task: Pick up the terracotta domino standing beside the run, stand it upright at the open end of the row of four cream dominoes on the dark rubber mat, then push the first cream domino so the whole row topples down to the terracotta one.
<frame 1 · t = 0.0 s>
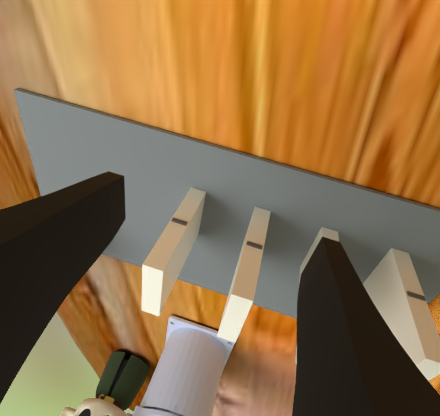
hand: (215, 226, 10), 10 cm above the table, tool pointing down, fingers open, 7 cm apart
character mug: (132, 358, 44), on the table
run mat: (222, 231, 24), on the table
tile 2: (317, 250, 22), resting on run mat
tile 3: (255, 230, 23), resting on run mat
tile 4: (194, 212, 23), resting on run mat
tile 1: (383, 270, 22), resting on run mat
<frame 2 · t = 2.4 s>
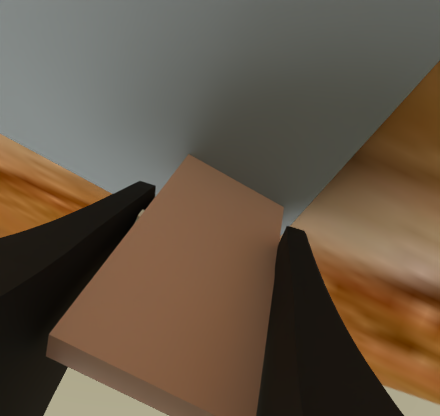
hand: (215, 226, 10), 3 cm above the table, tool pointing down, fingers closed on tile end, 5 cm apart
tile end: (230, 191, 12), resting on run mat, touching gripper
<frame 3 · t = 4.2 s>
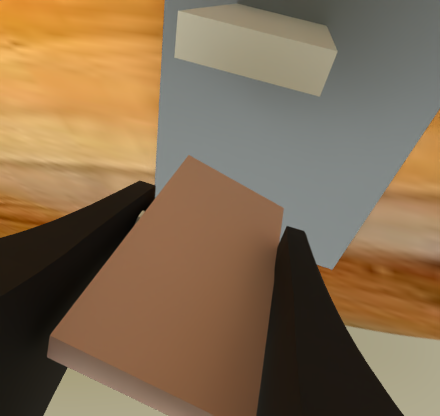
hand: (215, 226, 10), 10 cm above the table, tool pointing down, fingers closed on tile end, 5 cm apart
tile end: (230, 192, 12), point 7 cm above the table, touching gripper
tile 4: (277, 28, 14), resting on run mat
when the fingers open (3 cm above the table, at t = 6.3 s): tile end stays where it is, resting on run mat.
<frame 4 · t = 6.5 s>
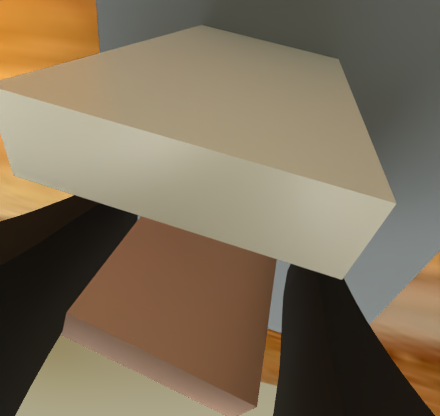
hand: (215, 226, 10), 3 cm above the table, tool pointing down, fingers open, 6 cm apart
tile end: (232, 185, 13), resting on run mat
tile 4: (263, 61, 10), resting on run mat
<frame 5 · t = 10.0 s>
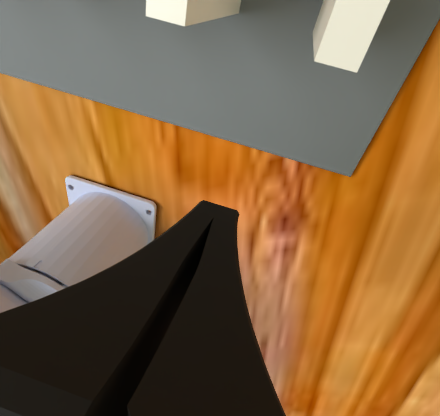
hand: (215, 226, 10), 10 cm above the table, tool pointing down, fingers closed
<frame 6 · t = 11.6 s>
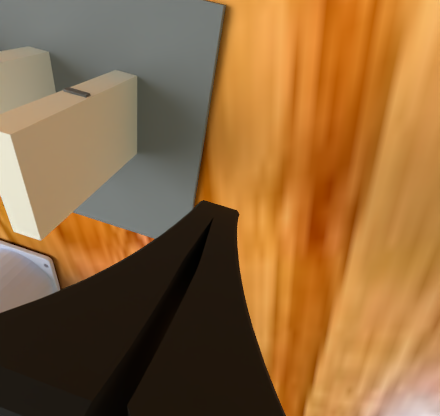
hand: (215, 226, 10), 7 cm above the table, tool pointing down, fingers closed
tile 2: (46, 92, 17), resting on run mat
tile 1: (127, 115, 16), resting on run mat
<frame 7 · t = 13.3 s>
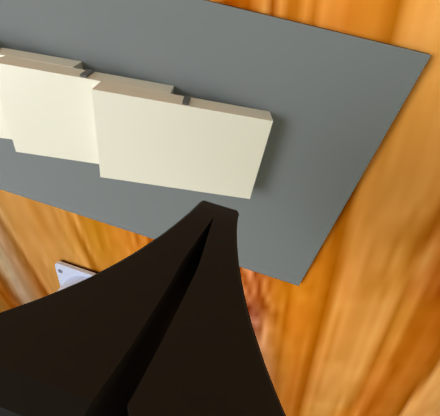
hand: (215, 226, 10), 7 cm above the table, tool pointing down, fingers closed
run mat: (70, 119, 18), on the table
tile 2: (169, 132, 16), point 1 cm above the table, tilted 76°, touching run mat, tile 1, tile 3
tile 3: (83, 108, 16), point 1 cm above the table, tilted 75°, touching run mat, tile 2, tile 4
tile 1: (259, 157, 15), point 1 cm above the table, tilted 76°, touching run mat, tile 2
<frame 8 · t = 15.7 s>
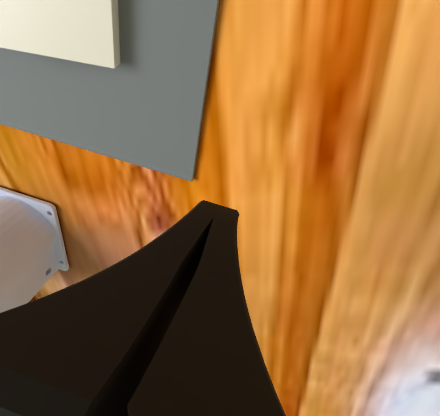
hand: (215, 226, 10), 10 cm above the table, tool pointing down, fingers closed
tile 1: (115, 21, 16), point 1 cm above the table, tilted 76°, touching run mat, tile 2
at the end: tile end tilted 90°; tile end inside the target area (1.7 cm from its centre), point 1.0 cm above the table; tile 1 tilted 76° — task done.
